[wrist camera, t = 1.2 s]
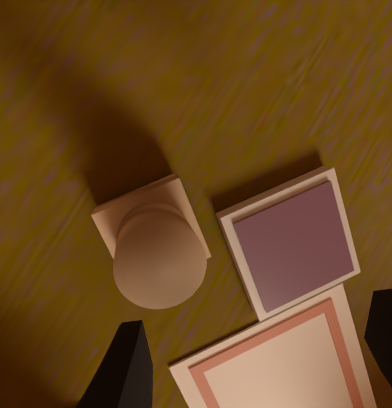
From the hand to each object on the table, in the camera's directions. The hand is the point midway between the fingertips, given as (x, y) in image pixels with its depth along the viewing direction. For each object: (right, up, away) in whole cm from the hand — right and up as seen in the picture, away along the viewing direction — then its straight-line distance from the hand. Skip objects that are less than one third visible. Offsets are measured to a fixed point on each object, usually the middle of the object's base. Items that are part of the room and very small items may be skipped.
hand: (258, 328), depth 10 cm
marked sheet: (+5, -11, +15) cm, 19 cm away
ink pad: (+4, +1, +12) cm, 13 cm away
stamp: (-5, +3, +10) cm, 11 cm away
